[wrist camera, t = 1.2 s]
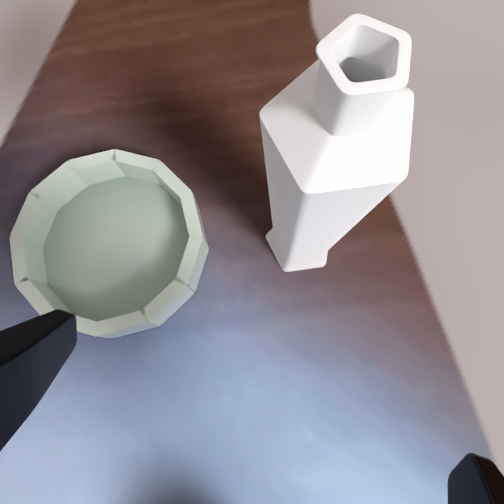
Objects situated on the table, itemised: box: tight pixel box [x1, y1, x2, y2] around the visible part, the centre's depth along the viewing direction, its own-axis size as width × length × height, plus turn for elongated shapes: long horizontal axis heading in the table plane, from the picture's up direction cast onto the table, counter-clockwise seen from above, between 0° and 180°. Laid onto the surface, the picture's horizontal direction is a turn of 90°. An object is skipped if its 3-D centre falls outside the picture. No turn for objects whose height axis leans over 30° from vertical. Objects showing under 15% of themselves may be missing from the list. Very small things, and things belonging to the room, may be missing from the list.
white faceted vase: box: [260, 14, 414, 272], centre depth 16 cm, size 5×4×15 cm
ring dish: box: [9, 149, 209, 338], centre depth 22 cm, size 10×10×2 cm
